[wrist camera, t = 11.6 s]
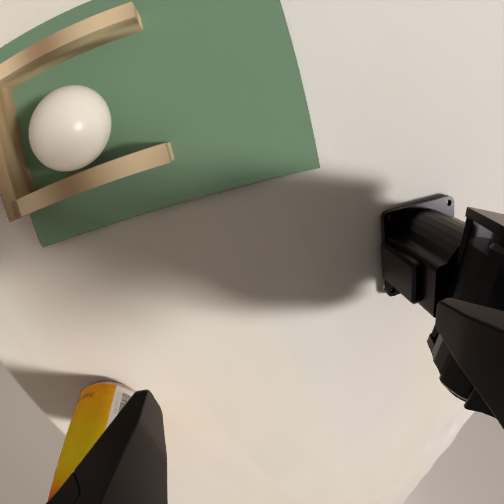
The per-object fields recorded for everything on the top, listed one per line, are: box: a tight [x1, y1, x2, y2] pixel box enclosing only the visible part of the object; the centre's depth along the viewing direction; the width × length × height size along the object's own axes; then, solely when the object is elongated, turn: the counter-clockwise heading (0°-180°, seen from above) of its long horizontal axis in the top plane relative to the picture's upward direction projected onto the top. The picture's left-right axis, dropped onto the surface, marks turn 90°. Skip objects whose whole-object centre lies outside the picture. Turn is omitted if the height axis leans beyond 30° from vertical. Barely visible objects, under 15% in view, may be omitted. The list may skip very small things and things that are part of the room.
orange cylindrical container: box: [48, 381, 135, 501], centre depth 16 cm, size 6×6×15 cm
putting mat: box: [0, 0, 320, 248], centre depth 16 cm, size 18×14×1 cm
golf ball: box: [29, 85, 111, 171], centre depth 14 cm, size 4×4×4 cm
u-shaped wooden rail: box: [0, 2, 174, 222], centre depth 14 cm, size 10×9×2 cm
